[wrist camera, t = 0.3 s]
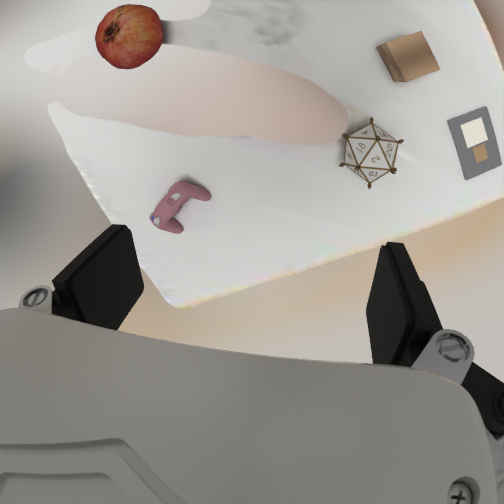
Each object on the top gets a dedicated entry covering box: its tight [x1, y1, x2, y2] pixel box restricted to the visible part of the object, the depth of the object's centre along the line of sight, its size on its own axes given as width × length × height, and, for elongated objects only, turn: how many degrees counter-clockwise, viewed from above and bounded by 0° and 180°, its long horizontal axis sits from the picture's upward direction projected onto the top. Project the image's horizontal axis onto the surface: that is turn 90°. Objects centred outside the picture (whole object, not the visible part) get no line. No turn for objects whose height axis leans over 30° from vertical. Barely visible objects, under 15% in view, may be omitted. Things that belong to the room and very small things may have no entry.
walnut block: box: [376, 31, 440, 82], centre depth 30 cm, size 6×6×6 cm
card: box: [447, 107, 502, 180], centre depth 35 cm, size 10×8×1 cm
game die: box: [339, 117, 404, 189], centre depth 37 cm, size 9×8×10 cm
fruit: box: [95, 4, 163, 69], centre depth 32 cm, size 11×10×10 cm
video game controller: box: [150, 181, 211, 234], centre depth 48 cm, size 10×5×7 cm, turn 139°
